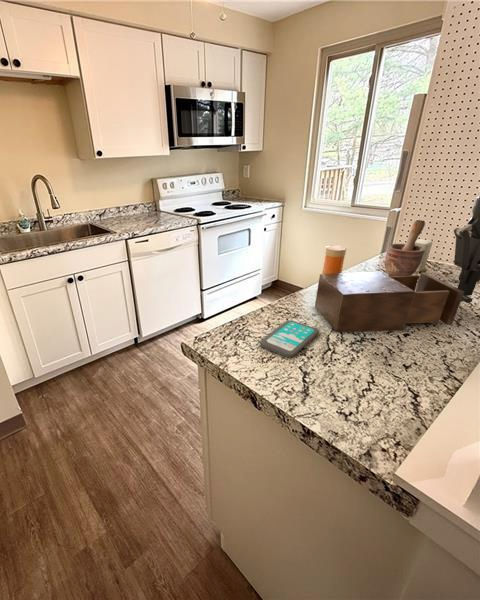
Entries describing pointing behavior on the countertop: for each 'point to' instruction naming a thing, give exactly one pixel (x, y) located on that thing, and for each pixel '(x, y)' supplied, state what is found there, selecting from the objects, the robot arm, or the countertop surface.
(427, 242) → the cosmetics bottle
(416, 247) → the mortar and pestle
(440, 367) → the countertop surface
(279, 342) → the smartphone
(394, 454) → the countertop surface
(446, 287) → the drawer
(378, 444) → the countertop surface
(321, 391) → the countertop surface
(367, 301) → the cabinet
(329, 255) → the spice jar
